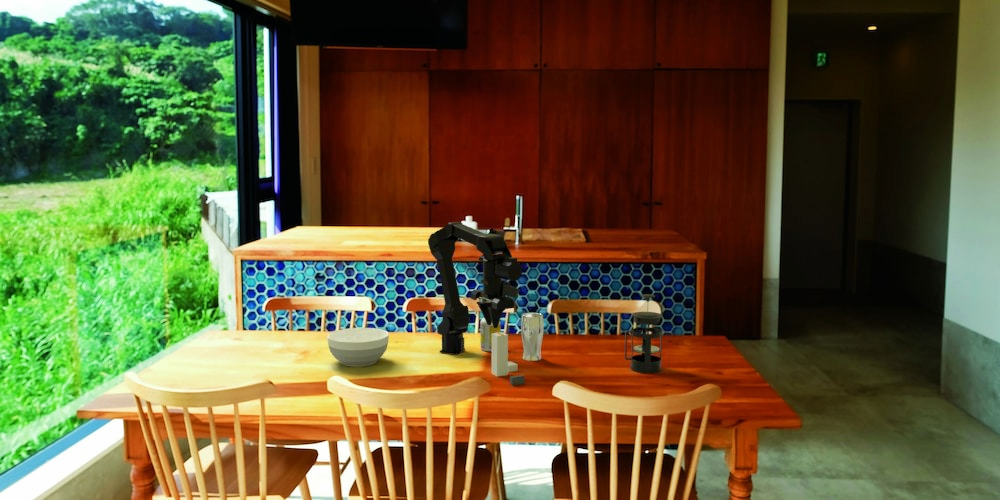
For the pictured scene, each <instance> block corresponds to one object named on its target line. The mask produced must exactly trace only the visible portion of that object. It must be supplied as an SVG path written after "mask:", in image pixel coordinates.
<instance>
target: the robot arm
mask: <svg viewBox="0 0 1000 500" xmlns="http://www.w3.org/2000/svg"><path fill="white" fill-rule="evenodd" d="M459 240H462V241H464V242H466V243H468V244H471V245H473V246H475V247H476V250H477V251H478V252H479V253H481V256H479V257H478V261H480V262H482V266H483V267H482V270H483V271H482V274H483V275H482V278H481V279H480V284H482V285H483V286H482V289H481V288H480V289H473V290H472V291H471V293H470V299H471V300H473V301H476V304H477V305H478V307H479V310H480V312H481V314H482V315H483V318H485V320H486V323H487V325H491V323H492V324H493V327H494V328H497V327H498V324H499V321H500V322H501V318H502V314H503V313H504V311H506V310H508V309H515V308H516V301H515V300H514V299H516V300H517V298H518V296H519V292H520V290H521V289H519V288H517V287H515V286H512V285H511V283H510V282H508V281H513V282H516V281H518V280H519V279H520V278H521V277H522V275H523V268H522V265H521V264H520V262H518V258H517V257H513V255H512V252H511V251H510V248H509V247H508V245H507V242H506V240H505V238H504V236H503V235H501V234H496V233H484V232H482V231H480V230H477V229H475V228H473V227H470V226H467V225H466V224H463V223H462V222H460V221H455V222H454V221H453V222H448V223H447V224H446V225H445V226H443V227H442V228H439V229H438V230H436V231H434V233H433V232H432V233H431V234H430V235H429V237H428V239H427V243H428V248H429V251H430V253H431V255H432V256H433V258H434V259H435V260H436V262H437V266H438V267H437V268H438V273H439V276H440V283H441V288H442V295H443V298H444V299H443V301H444V307H443V310H442V312H441V317H442V320H441V322H439V324H438V325H437V327H436V330H437V334H438V335H439V336H440V335H441V349H440V350H439V353H442V354H449V355H450V354H451V355H459V354H461V353H463V352H465V351H466V348H465V337H464V333H467V332H468V329H469V324H470V323H471V322H470V321H471V320H470V318H471V315H470V313H469V307H468V305H464V303H462V302H461V298H460V293H459V286H458V281H457V276H456V270H455V265H454V261H453V257H454V254H455V252H456V243H457V242H458V241H459ZM505 280H506V281H505ZM507 280H508V281H507ZM477 299H478V301H477Z"/></svg>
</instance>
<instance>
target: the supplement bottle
mask: <svg viewBox="0 0 1000 500" xmlns="http://www.w3.org/2000/svg"><path fill="white" fill-rule="evenodd" d="M479 327H480V350H482V351H484V352H492V333H496V332H499V333H500V332H502V331H501V330H502V329H501V320H500V321H499V324H498V327H497V328H494V327H493V324H492V323H491V325H487V323H486V320H485V318H484V317H483V318H482V319H481V320H480V326H479Z"/></svg>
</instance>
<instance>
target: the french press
mask: <svg viewBox="0 0 1000 500" xmlns="http://www.w3.org/2000/svg"><path fill="white" fill-rule="evenodd" d="M640 297H641V298H645V299H646V301H645V302H647V303H646V311H637V312H633V313H632V317H633V322H634V323H636V324H639V325H644V326H641V327H640V326H639V327H634V328H632V329H630V330H625V332H624V333H625V335H624V340H625V341H624V358H625V360H626V361H630V367H629V368H630V370H631V371H633V372H636V373H640V374H655V373H660V372H661V371H662V343H663V342H662V339H663V331H662V329H660V328H656V327H649V326H652V325H653V326H654V325H658V324H659V323H660V321H661V318H663V314H661V313H659V312H653V311H649V302H650V299H652V298H655V297H656V296H655V295H654V294H650V293H646V294H641V295H640ZM641 332H642V333H641ZM649 332H650V333H649ZM628 333H631V349H630V350H631V356H630V357H627V352H628V351H627V350H628V349H627V344H628ZM634 337H635V338H641V340H642V341H641V343H642V344H639V345H634ZM652 339H660V340H659V341H660V343H659V344H660V345H659V347H658V346H656V345H652ZM633 345H634V346H633ZM633 352H635V353H636V354H634V353H633ZM658 353H659V356H657V355H653V354H658ZM633 354H634V355H633Z"/></svg>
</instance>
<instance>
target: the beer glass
mask: <svg viewBox="0 0 1000 500" xmlns="http://www.w3.org/2000/svg"><path fill="white" fill-rule="evenodd" d="M520 330H521V331H520V333H521V340H522V346H523V354H522V359H523V360H525V361H534V362H535V361H540V360H541V359H542V354H541V349H542V342H543V339H544V338H543V337H544V315H543V314H542V313H540V312H525V313H522V314H521V323H520Z"/></svg>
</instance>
